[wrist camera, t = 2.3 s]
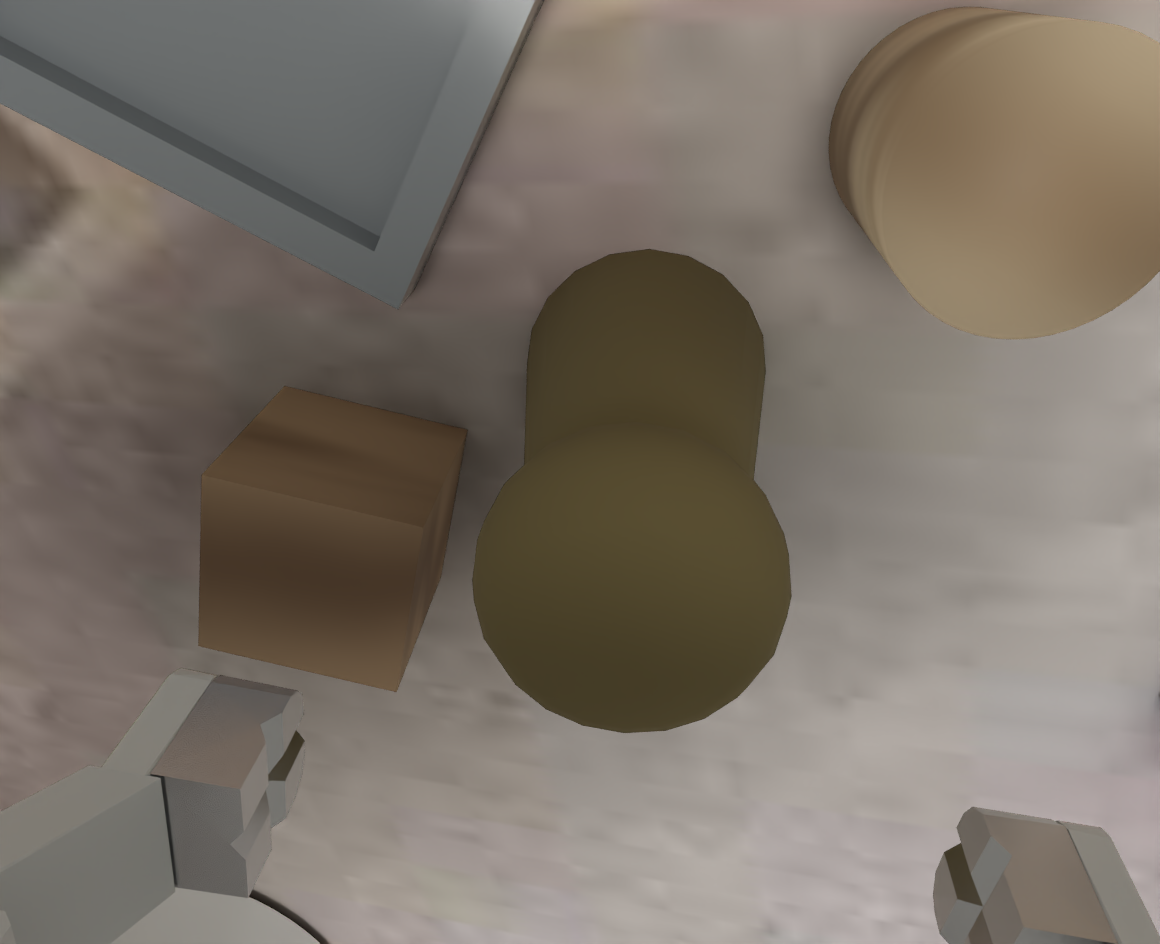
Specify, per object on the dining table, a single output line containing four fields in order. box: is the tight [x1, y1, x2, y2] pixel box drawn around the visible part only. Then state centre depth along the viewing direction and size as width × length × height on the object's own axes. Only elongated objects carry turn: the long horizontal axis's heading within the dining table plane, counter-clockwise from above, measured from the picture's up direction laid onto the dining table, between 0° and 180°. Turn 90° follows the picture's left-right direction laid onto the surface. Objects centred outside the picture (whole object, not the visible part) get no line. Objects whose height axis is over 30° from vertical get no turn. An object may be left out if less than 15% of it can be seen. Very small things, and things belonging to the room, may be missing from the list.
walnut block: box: [198, 386, 467, 692], centre depth 24 cm, size 5×5×5 cm
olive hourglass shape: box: [472, 249, 791, 733], centre depth 18 cm, size 6×6×11 cm
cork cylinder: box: [829, 7, 1160, 339], centre depth 17 cm, size 5×5×6 cm
